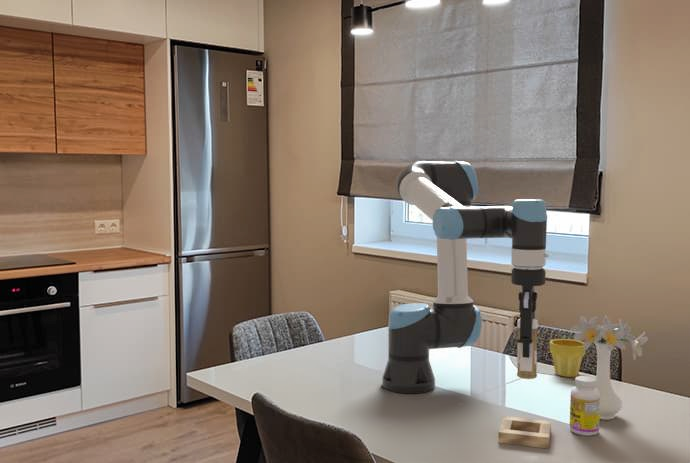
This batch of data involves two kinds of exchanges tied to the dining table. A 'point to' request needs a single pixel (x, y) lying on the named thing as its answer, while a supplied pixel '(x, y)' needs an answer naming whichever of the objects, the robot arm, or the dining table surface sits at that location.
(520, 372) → the sprinkles bottle
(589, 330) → the flower vase
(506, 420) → the socket block
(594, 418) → the supplement bottle
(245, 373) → the dining table surface
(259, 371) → the dining table surface
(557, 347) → the plant pot
